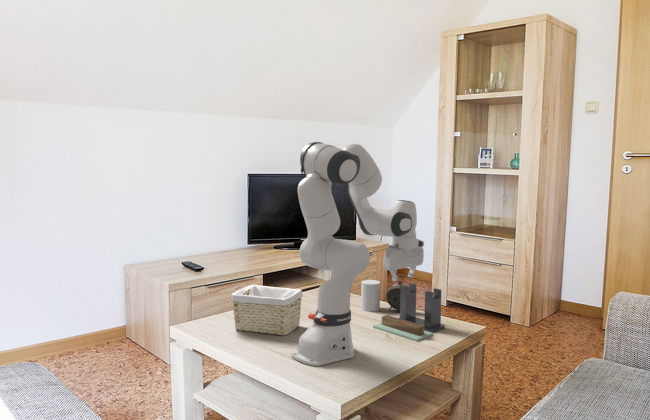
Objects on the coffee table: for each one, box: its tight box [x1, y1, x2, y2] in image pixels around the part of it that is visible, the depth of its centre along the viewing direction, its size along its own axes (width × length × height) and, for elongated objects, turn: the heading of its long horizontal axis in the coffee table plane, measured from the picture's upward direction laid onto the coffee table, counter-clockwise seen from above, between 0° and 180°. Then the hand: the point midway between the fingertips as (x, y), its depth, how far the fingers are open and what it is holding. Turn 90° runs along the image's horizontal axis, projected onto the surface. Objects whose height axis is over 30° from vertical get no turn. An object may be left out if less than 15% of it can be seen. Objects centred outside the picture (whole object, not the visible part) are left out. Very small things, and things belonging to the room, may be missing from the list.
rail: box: [381, 314, 425, 336], centre depth 204 cm, size 3×18×3 cm, turn 43°
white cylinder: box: [360, 279, 381, 313], centre depth 233 cm, size 8×8×12 cm
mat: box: [372, 322, 434, 342], centre depth 204 cm, size 10×21×1 cm, turn 43°
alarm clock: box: [385, 274, 409, 314], centre depth 229 cm, size 11×5×16 cm, turn 63°
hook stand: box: [398, 282, 446, 334], centre depth 211 cm, size 8×18×15 cm, turn 43°
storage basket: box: [231, 284, 304, 336], centre depth 207 cm, size 24×16×15 cm
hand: (403, 279), depth 202 cm, fingers open, 8 cm apart
